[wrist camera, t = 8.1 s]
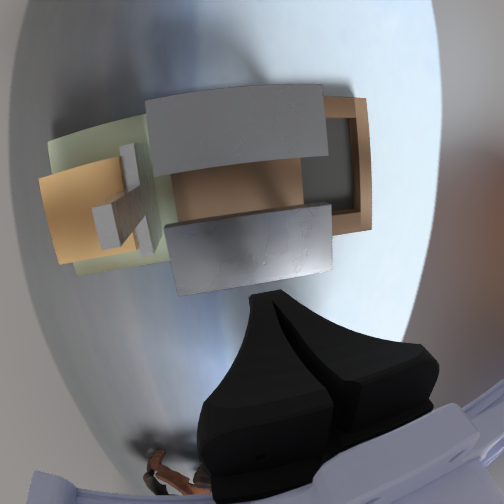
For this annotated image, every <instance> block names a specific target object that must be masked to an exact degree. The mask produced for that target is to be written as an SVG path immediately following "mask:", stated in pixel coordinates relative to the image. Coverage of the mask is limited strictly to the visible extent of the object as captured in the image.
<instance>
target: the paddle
mask: <svg viewBox="0 0 504 504" xmlns="http://www.w3.org/2000/svg"><path fill="white" fill-rule="evenodd" d="M119 149H120V156H121V163H122V170H123V176H124V182H125V187H126V188H125V189H123V190H121V191H120V192H118V193H116V194H114V195H113V196H111V197H109V198H107V199H106V200H104V201H102V202H101V203H99V204H97V205H96V206H94V207H92V213H93V217H94V222H95V226H96V230H97V234H98V238H99V242H100V246H101V250H106V249H112V248H117V247H121V246H122V245H123V243H124V242H125V241H126V240H127V238H128V237H129V236H130V234H131V233H132V232H133V230H134V233H135V237H136V241H137V246H138V250H139V254H140V257H143V256H149V255H154V254H155V251H156V249H157V246H158V244H159V242H160V239H161V237H162V230H161V225H160V219H159V214H158V209H157V203H156V197H155V192H154V186H153V180H152V173H151V167H150V160H149V153H148V146H147V144H142V143H132V144H127V145H123V146H119Z"/></svg>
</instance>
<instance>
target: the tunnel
mask: <svg viewBox="0 0 504 504" xmlns="http://www.w3.org/2000/svg"><path fill="white" fill-rule="evenodd" d="M145 110H146V119H147V128H148V136H149V144H150V151H151V158H152V165H153V172H154V177H157V176H162V175H167V174H173V173H179V172H185V171H191V170H197V169H204V168H211V167H218V166H225V165H232V164H240V163H249V162H258V161H267V160H277V159H288V158H301V157H315V156H329V154H328V141H327V129H326V119H325V109H324V100H323V91H322V84H277V85H256V86H241V87H230V88H220V89H212V90H204V91H196V92H190V93H183V94H177V95H171V96H166V97H161V98H156V99H151V100H146V101H145ZM164 234H165V239H166V244H167V248H168V253H169V258H170V262H171V267H172V271H173V276H174V280H175V284H176V288H177V293H178V296H184V295H190V294H197V293H203V292H210V291H216V290H222V289H229V288H235V287H241V286H247V285H253V284H259V283H265V282H270V281H276V280H282V279H287V278H293V277H299V276H304V275H309V274H315V273H320V272H325V271H331V270H332V211H331V204H329V203H327V202H318V203H309V204H301V205H293V206H285V207H277V208H270V209H262V210H255V211H248V212H241V213H234V214H227V215H220V216H214V217H207V218H201V219H195V220H188V221H182V222H176V223H170V224H165V227H164Z"/></svg>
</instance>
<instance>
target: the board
mask: <svg viewBox="0 0 504 504" xmlns="http://www.w3.org/2000/svg"><path fill="white" fill-rule="evenodd" d="M323 100H324V109H325V119H328V118H341V119H349V129H350V141H351V157H352V176H353V209H347V210H338V211H332V236H334V235H340V234H347V233H353V232H360V231H366V230H372V177H371V153H370V137H369V124H368V113H367V103H366V98H353V97H325V96H323ZM132 143H142V144H147V146H148V153H149V160H150V167H151V173H152V180H153V186H154V192H155V197H156V203H157V209H158V214H159V219H160V225H161V230H162V237H161V239H160V242H159V244H158V246H157V249H156V251H155V254H154V255H149V256H143V257H140V254H139V250H138V249H137V251H133V252H127V253H121V254H115V255H110V256H104V257H98V258H93V259H87V260H82V261H76V262H73V265H74V268H75V271H76V274H77V276H80V275H86V274H92V273H98V272H104V271H111V270H117V269H123V268H129V267H136V266H142V265H148V264H154V263H161V262H167V261H170V258H169V253H168V248H167V244H166V239H165V234H164V227H165V224H170V223H176V222H182V221H188V220H195V219H201V218H207V217H214V216H220V215H227V214H234V213H241V212H248V211H255V210H262V209H270V208H277V207H285V206H293V205H301V204H304V201H303V187H302V173H301V161H300V158H288V159H277V160H267V161H258V162H249V163H240V164H232V165H225V166H218V167H211V168H204V169H197V170H191V171H185V172H179V173H173V174H167V175H162V176H157V177H154V172H153V165H152V158H151V151H150V144H149V136H148V128H147V119H146V114H142V115H138V116H133V117H129V118H125V119H121V120H117V121H113V122H109V123H105V124H102V125H98V126H95V127H91V128H88V129H85V130H81V131H78V132H75V133H72V134H69V135H66V136H63V137H60V138H57V139H54V140H51V141H49V142H48V151H49V158H50V165H51V171H52V174H55V173H58V172H62V171H65V170H68V169H72V168H75V167H79V166H82V165H86V164H89V163H93V162H97V161H101V160H105V159H109V158H113V157H117V156H120V149H119V146H123V145H127V144H132Z"/></svg>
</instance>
